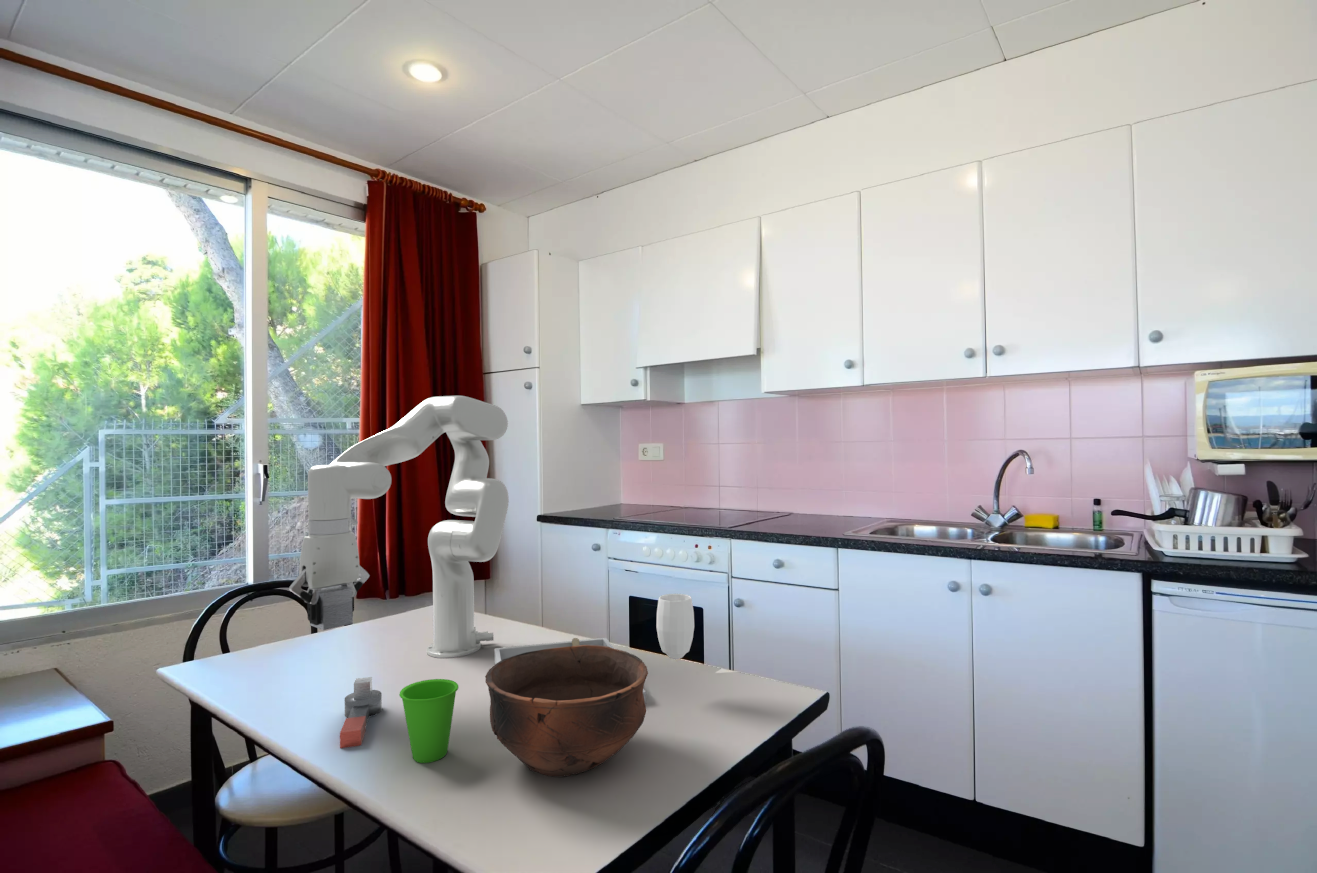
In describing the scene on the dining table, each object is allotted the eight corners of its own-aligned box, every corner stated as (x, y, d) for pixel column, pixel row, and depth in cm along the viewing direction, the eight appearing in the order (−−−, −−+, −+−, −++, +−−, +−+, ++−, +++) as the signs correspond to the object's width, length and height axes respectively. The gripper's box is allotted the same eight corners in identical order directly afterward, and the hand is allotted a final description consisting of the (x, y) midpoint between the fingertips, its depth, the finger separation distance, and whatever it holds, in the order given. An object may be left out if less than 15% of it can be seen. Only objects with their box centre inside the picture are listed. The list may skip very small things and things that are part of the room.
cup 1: (425, 776, 101) (424, 704, 101) (388, 761, 106) (387, 692, 106) (471, 752, 109) (470, 685, 109) (434, 739, 114) (433, 675, 114)
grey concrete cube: (338, 619, 135) (338, 584, 135) (352, 623, 131) (352, 587, 131) (310, 625, 130) (309, 589, 130) (323, 630, 127) (323, 593, 127)
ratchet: (347, 707, 128) (347, 676, 128) (383, 703, 130) (383, 672, 130) (329, 749, 111) (329, 713, 111) (371, 744, 113) (370, 708, 113)
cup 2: (697, 713, 123) (696, 601, 123) (658, 715, 123) (657, 602, 123) (693, 698, 131) (691, 592, 131) (656, 699, 130) (655, 593, 130)
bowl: (503, 824, 89) (501, 710, 89) (475, 746, 111) (474, 655, 111) (673, 783, 99) (672, 681, 99) (616, 719, 121) (615, 636, 121)
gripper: (363, 521, 140) (364, 608, 140) (274, 531, 126) (276, 627, 126) (381, 524, 135) (383, 613, 135) (292, 534, 122) (293, 634, 122)
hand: (331, 619), depth 131 cm, fingers closed on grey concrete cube, 5 cm apart
